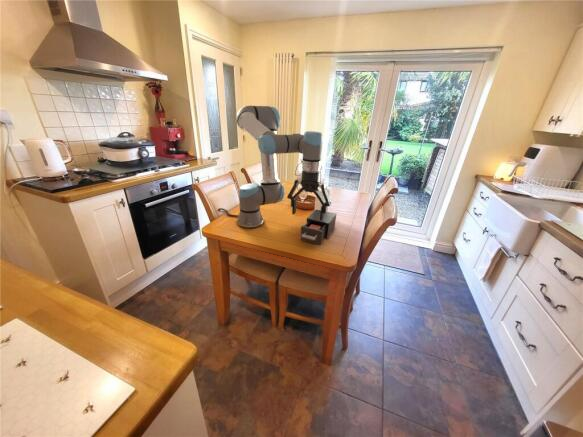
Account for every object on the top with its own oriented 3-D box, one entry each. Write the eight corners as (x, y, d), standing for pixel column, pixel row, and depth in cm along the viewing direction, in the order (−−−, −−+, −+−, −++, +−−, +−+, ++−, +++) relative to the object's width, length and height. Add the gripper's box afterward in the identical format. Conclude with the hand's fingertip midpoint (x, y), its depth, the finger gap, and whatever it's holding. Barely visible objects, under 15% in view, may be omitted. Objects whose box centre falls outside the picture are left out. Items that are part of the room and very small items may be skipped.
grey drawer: (317, 249, 116) (319, 235, 112) (296, 243, 120) (297, 230, 117) (328, 234, 130) (330, 221, 127) (309, 229, 135) (310, 217, 131)
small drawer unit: (327, 239, 127) (328, 223, 123) (305, 233, 132) (306, 218, 127) (334, 228, 139) (336, 213, 135) (314, 223, 144) (315, 209, 139)
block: (307, 237, 124) (307, 228, 121) (310, 233, 128) (311, 224, 126) (316, 239, 122) (317, 230, 119) (320, 235, 126) (321, 226, 124)
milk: (320, 220, 148) (323, 187, 138) (313, 217, 152) (316, 184, 143) (327, 218, 151) (330, 185, 142) (320, 214, 156) (323, 183, 146)
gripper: (280, 168, 100) (279, 213, 109) (337, 176, 91) (331, 225, 100) (288, 165, 106) (286, 208, 115) (342, 172, 97) (336, 218, 106)
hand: (307, 216), depth 108 cm, fingers open, 13 cm apart
